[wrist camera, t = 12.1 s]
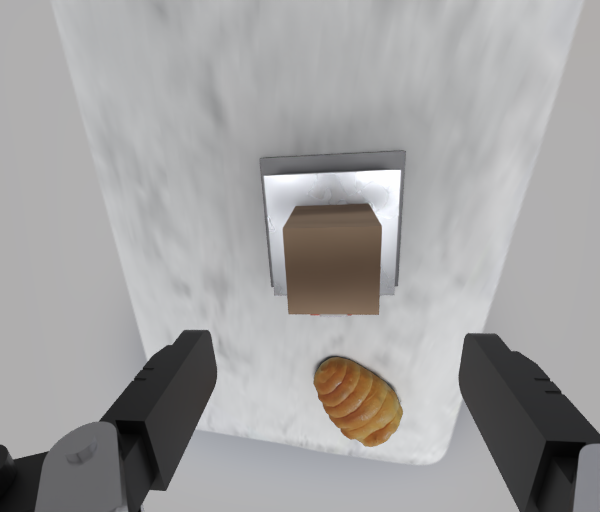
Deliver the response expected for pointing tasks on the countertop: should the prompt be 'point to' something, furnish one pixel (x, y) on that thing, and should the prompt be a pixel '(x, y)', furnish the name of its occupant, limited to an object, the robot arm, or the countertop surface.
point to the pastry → (357, 401)
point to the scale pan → (334, 191)
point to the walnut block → (333, 259)
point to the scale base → (335, 165)
